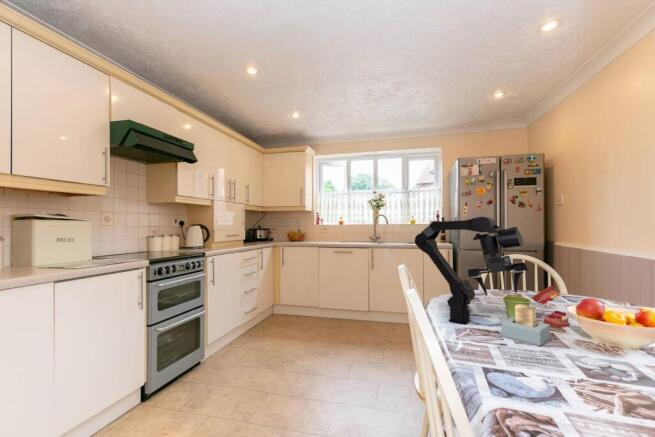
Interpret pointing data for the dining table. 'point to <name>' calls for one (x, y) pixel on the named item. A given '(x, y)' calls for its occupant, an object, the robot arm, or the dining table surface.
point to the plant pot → (512, 301)
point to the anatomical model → (557, 317)
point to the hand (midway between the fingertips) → (501, 294)
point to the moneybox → (526, 332)
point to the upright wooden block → (525, 315)
